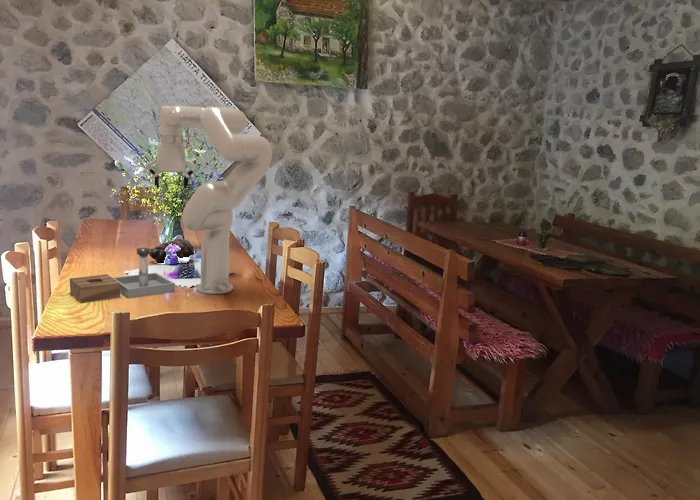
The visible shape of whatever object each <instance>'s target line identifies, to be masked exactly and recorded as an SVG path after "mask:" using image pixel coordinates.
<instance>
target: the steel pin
mask: <svg viewBox="0 0 700 500" xmlns="http://www.w3.org/2000/svg"><path fill="white" fill-rule="evenodd" d="M150 249H151V248H149V247H137V248H136V255H138V275H139V287H145V286H148V274H149V254H150V252H151V250H150Z"/></svg>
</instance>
